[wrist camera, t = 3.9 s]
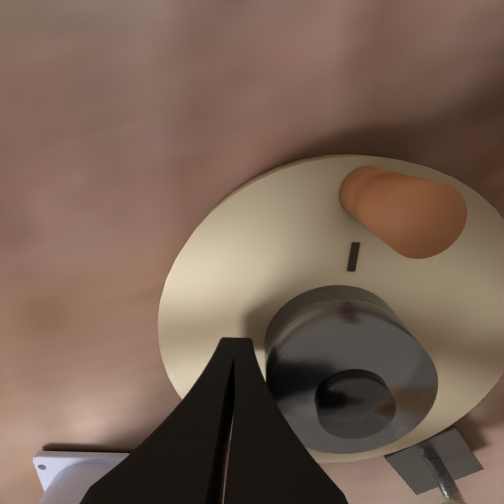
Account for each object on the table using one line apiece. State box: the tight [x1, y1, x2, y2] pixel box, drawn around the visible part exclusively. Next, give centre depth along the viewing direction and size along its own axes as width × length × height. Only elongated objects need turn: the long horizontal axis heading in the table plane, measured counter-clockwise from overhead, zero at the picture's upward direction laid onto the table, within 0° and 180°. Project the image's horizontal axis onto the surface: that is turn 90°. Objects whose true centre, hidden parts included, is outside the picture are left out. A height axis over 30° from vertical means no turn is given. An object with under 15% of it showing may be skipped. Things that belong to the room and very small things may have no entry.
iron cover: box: [264, 285, 438, 454], centre depth 11 cm, size 6×6×3 cm
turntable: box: [158, 154, 504, 463], centre depth 12 cm, size 16×16×6 cm
